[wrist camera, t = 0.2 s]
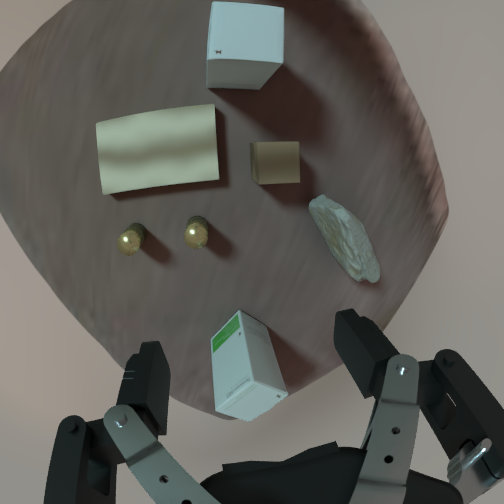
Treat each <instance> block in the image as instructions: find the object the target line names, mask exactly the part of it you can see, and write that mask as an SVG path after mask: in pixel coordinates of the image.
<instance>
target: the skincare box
mask: <svg viewBox="0 0 504 504" xmlns="http://www.w3.org/2000/svg"><path fill="white" fill-rule="evenodd" d="M211 352H212V368H213V383H214V396H215V408H216V410H215V411H218V412H220V413H223V414H226V415H229V416H232V417H236V418H239V419H242V420H245V421H248V422H250V421H251V420H253V419H254V418H256V417H257V416H259V415H260V414H262V413H264V412H267V411H269V410H270V409H271V408H272V407H273V406H274V405H275V404H276V403H278V402H279V401H281V400H282V399H283V398H285V397H286V396H288V392H287V390H286V387H285V384H284V381H283V378H282V375H281V371H280V368H279V365H278V362H277V359H276V356H275V353H274V349H273V346H272V343H271V340H270V337H269V333H268V330H267V327H266V326H265V325H263V324H262V323H260V322H259V321H257V320H255V319H254V318H252V317H250V316H249V315H247V314H245V313H244V312H242V311H241V310H238V311H237V312H236V313H235V315H234V316H233V317H232V318H231V319H230V320H229V321H228V322H227V323H226V324H225V325H224V326H223V327H222V328H221V329H220V330H219V331H218V332H217V333H216V334H215V335H214V336H213V337H212V338H211Z"/></svg>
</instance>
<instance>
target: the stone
mask: <svg viewBox="0 0 504 504" xmlns="http://www.w3.org/2000/svg"><path fill="white" fill-rule="evenodd" d="M309 212H310V214H311V215H312V217H313V219H314V221H315V222H316V224H317V226H318V227H319V229H320V231H321V233H322V235H323V237H324V239H325V241H326V243H327V245H328V246H329V248H330V250H331V253H332V255H333V256H334V257H335V259H336V260H337V261H338V262H339V264H340V265H341V267H342V268H343V269H344V270H345V271H346V272H347V273H348V275H350V276H351V277H352V278H353V279H354V280H355V281H357V282H361V281H363V280H368V281H369V282H371V283H375V282H377V281H378V280H379V279H380V266H379V263H378V261H377V259H376V257H375V254H374V251H373V247H372V245H371V243H370V241H369V238H368V236H367V233H366V231H365V229H364V226H363V224H362V223H361V222H360V221H359V220H358V219H357V218H356V217H355V216H354V215H353V213H350V212H349V211H348V210H346V209H345V208H344V207H343V206H341V205H340V204H337V203H336V202H334V201H333V200H331V199H329V198H327V197H326V195H324V194H323V195H320V196H318V197H317V198H316V199H312V200H311V202H310V203H309Z"/></svg>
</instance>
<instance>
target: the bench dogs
mask: <svg viewBox="0 0 504 504" xmlns="http://www.w3.org/2000/svg"><path fill="white" fill-rule="evenodd" d="M145 238H146V229H145V227H144V226H143V225H141V224H139V223H133V224H131V225H130V226H129V227H128V228H127V229H126V230H125V231H124V232H123V233H122V235H121V236H120V237H119V238H118V240H117V247H118V249H119V251H120V252H121V253H122V254H124V255H127V256H131V255H134V254H135V253H136V252H137V251H138V249H139V247H140V246H141V244H142V243H143V241H144V240H145ZM184 240H185V243H186V244H187V245H188V246H189V247H191V248H194V249H198V248H201V247H203V246H204V245H205V244H206V243H207V241H208V223H207V221H206V220H205V219H204V218H203V217H201V216H194V217H192V218H190V219H189V221H188V223H187V226H186V230H185V234H184Z"/></svg>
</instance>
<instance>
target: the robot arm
mask: <svg viewBox="0 0 504 504" xmlns="http://www.w3.org/2000/svg"><path fill="white" fill-rule="evenodd" d="M334 345H335V348H336V350H337V352H338V354H339V355H340V357H341V359H342V360H343V362H344V364H345V365H346V367H347V369H348V371H349V372H350V374H351V375H352V377H353V379H354V381H355V382H356V384H357V386H358V388H359V390H360V391H361V393H362V394H363V396H364V398H365V399H366V398H368V397H371V396H374V398H375V399H376V400H375V403H374V407H373V410H372V414H371V417H370V421H369V424H368V428H367V431H366V434H365V437H364V440H363V442H362V445H361V447H360V449H359V448H354V447H338V445H337V443H336V441H334V442H331V443H328V444H324V445H321V446H318V447H314V448H310V449H308V450H306V451H304V452H302V453H300V454H298V455H295V456H293V457H291V458H289V459H287V460H285V461H281V462H268V461H267V462H266V461H246V462H238V463H230V464H222V467H223V471H221V472H218V473H216V474H213V475H211V476H210V477H208V478H206V479H205V480H204V481H202V482H201V483H200V484H198V482H196V481H195V480H194V479H193V478H192V477H191V476H190V475H189V474H188V473H187V472H186V471H185V469H183V467H182V466H181V465H179V463H178V462H177V461H176V460H175V459H174V458H173V457H172V456H171V454H170V453H169V452H168V451H167V450H166V449H165V448H164V447H163V445H162V444H161V443H159V441H158V435H166V433H167V416H168V415H167V414H168V402H169V401H168V400H169V389H170V378H171V375H170V368H169V365H168V362H167V360H166V357H165V354H164V352H163V349H162V347H161V344H160V342H159V341H150V342H142V344H141V348H140V352H139V354H133V355H132V356H131V358H130V359H129V360H128V361H127V364H126V368H125V372H124V375H123V380H122V383H121V387H120V390H119V395H118V399H117V403H116V406H113V407H111V408H110V409H109V410H108V411H107V412H106V413H105V415H104V418H102V419H98V420H94V421H90V422H85V421H84V420H83V419H82V418H81V417H80V416H76V415H72V416H68V417H67V418H65V419H63V420H62V422H61V423H60V425H59V427H58V431H57V435H56V439H55V443H54V447H53V451H52V456H51V461H50V466H49V471H48V476H47V482H46V489H45V496H44V504H115V503H116V499H115V498H116V474H117V464H121V463H125V462H126V464H127V466H128V468H129V469H130V470H131V472H132V473H133V475H134V476H135V477H136V479H137V480H138V481H139V483H140V484H141V485H142V486H143V488H144V489H145V491H146V492H147V493H148V494H149V496H150V497H151V498H152V499H153V500H154V502H155V503H156V504H469V503H470V502H471V501H473V500H474V499H476V498H477V497H478V496H480V495H481V494H483V493H485V492H486V491H488V490H489V489H491V488H492V487H494V486H495V485H496V484H498V483H499V482H501V481H502V480H503V479H504V409H503V408H502V407H501V405H500V404H499V403H498V401H497V400H496V399H495V397H494V396H493V395H492V393H491V392H490V391H489V390H488V388H487V387H486V386H485V385H484V384H483V382H482V381H481V379H480V378H479V377H478V376H477V375H476V373H475V372H474V371H473V370H472V369H471V367H470V366H469V365H468V364H467V363H466V361H465V360H464V359H463V358H462V357H461V356H460V355H459V354H458V353H457V352H455V351H453V350H450V349H444V350H441V351H439V352H438V353H437V354H436V356H435V358H434V360H429V361H420V362H417V360H416V359H415V358H413V357H412V356H409V355H405V354H400V353H399V352H398V351H397V349H396V348H395V347H394V346H393V345H392V343H391V342H390V341H389V340H388V339H387V337H386V336H385V335H383V333H382V331H381V330H380V329H379V328H378V327H377V325H376V324H375V323H374V322H373V321H372V320H370V319H368V318H366V317H365V316H363V317H360V316H359V315H358V314H357V313H356V312H355V310H354V309H352V308H351V309H347V310H343V311H338V312H337V313H336V315H335V327H334ZM447 393H448V394H449V396H450V397H451V399H452V400H453V402H454V403H455V405H456V406H455V405H454V403H453V402H452V400H451V399H450V397H449V396H448V395H447ZM420 409H421V411H422V412H423V414H424V416H425V418H426V419H427V421H428V423H429V424H430V426H431V428H432V429H433V431H434V433H435V435H436V436H437V438H438V440H439V441H440V443H441V445H442V447H443V449H444V451H445V452H446V454H447V456H448V458H449V459H450V462H449V464H448V467H447V471H448V474H447V478H448V479H449V483H448V482H445V481H442V480H439V479H436V478H433V477H430V476H427V475H424V474H421V473H419V472H416V471H413V470H411V469H409V468H410V463H411V459H412V454H413V449H414V443H415V438H416V432H417V425H418V418H419V410H420Z"/></svg>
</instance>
